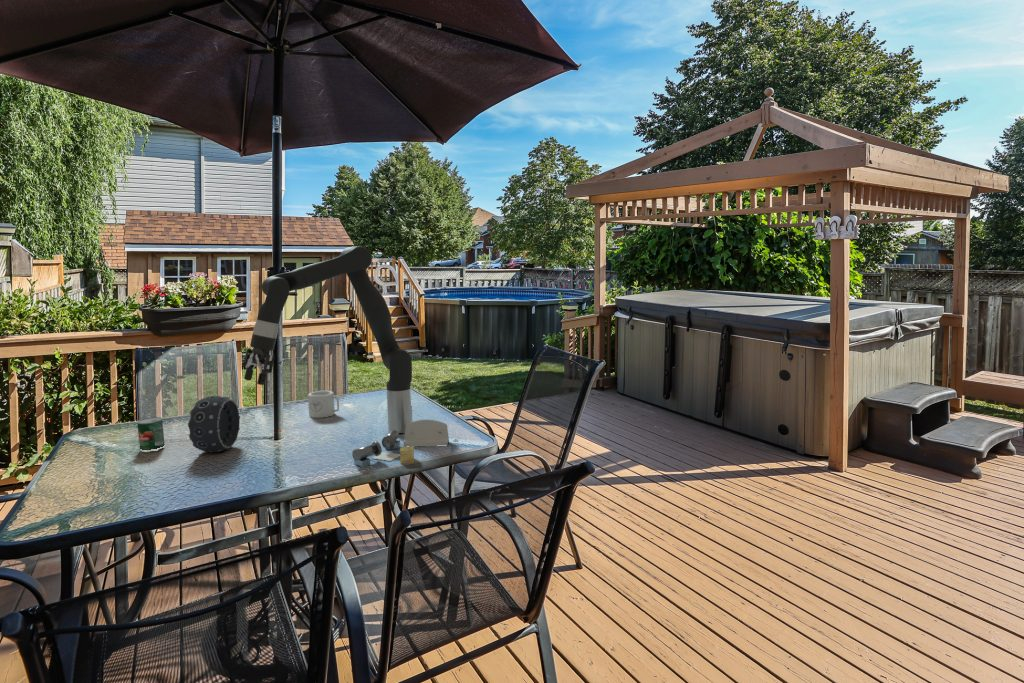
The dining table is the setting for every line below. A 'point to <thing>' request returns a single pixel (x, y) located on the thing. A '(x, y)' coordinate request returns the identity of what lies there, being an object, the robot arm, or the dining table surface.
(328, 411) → the mug
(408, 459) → the block
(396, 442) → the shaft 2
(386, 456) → the plate
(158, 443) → the canned tomato
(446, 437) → the grey rounded block
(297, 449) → the dining table surface
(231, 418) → the dark grey drum piece
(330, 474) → the dining table surface
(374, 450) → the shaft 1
